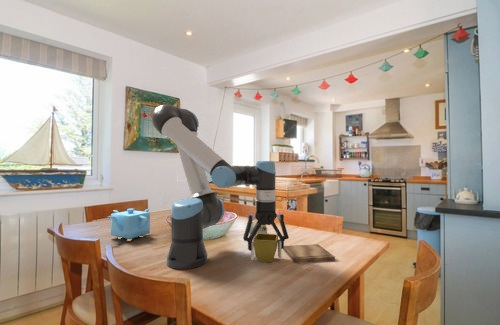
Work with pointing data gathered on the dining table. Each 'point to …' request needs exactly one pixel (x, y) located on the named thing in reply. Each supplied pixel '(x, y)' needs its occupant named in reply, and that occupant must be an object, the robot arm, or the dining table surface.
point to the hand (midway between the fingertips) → (266, 257)
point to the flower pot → (265, 246)
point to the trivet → (308, 253)
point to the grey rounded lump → (261, 230)
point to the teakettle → (130, 223)
